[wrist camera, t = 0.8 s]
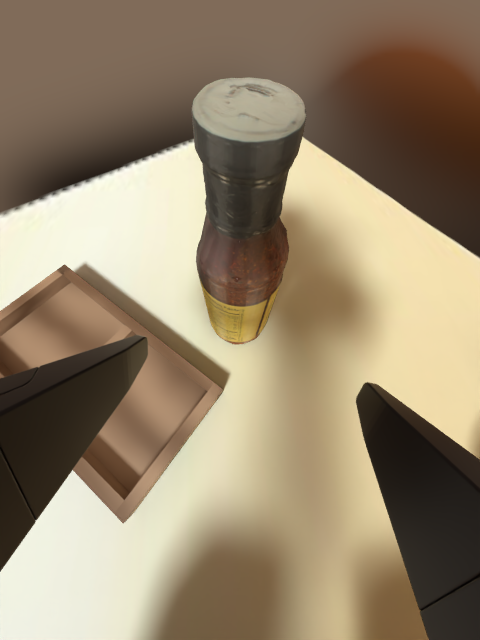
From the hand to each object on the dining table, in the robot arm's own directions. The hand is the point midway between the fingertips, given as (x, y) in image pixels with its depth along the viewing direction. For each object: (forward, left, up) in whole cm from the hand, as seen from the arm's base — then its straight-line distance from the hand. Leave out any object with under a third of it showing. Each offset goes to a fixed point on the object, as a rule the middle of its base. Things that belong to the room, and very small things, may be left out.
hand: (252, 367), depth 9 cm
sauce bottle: (+7, +5, -15) cm, 17 cm away
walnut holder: (-6, +13, -15) cm, 21 cm away
